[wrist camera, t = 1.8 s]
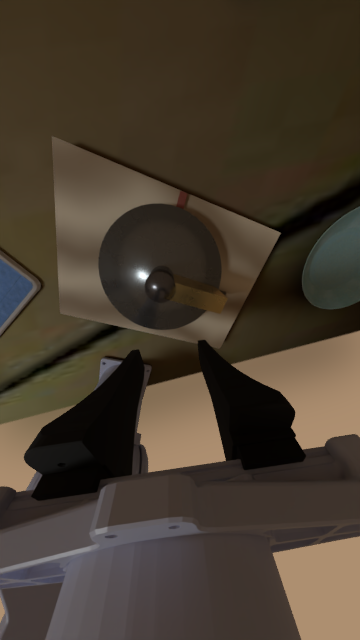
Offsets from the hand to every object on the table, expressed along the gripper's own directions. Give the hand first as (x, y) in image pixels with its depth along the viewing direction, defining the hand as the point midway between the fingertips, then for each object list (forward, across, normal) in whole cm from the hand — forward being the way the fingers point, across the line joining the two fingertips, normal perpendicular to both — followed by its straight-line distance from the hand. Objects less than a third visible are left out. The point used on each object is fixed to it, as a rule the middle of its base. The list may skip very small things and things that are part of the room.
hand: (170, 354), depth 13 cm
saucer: (+10, -23, -3) cm, 25 cm away
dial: (+8, 0, -5) cm, 9 cm away
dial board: (+9, 0, -5) cm, 11 cm away
